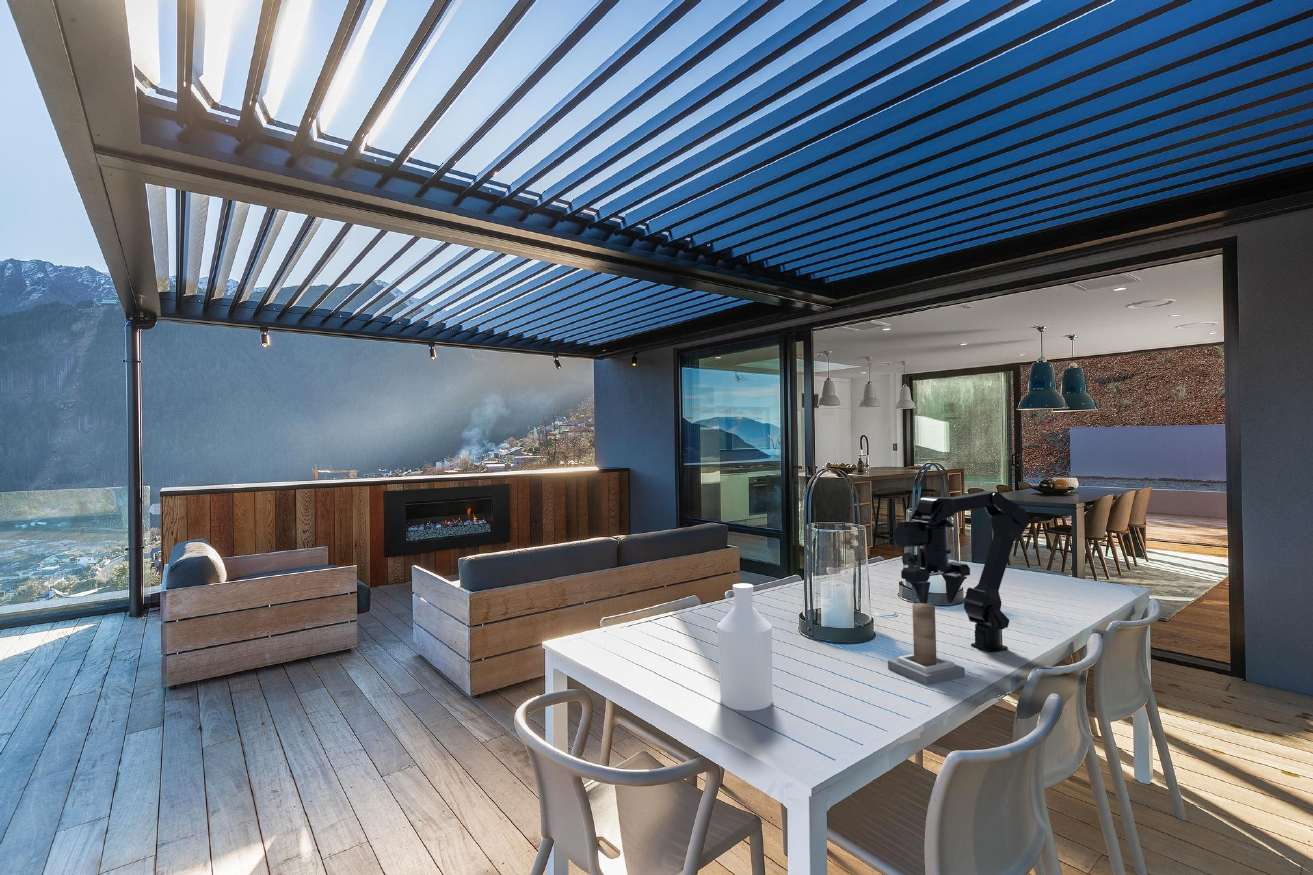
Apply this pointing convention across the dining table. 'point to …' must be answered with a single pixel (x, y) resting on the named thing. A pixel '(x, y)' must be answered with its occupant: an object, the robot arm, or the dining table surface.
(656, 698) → the dining table surface
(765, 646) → the bottle
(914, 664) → the base
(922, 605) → the post
